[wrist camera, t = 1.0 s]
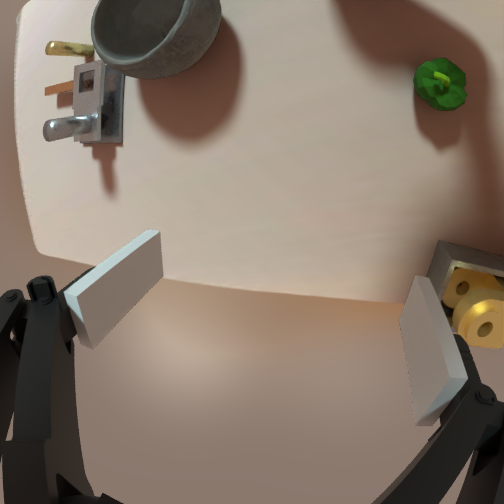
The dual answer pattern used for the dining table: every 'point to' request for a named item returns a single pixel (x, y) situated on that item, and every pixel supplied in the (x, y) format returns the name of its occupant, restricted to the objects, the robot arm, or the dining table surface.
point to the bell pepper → (441, 84)
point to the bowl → (154, 34)
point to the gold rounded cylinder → (69, 49)
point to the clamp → (477, 307)
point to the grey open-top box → (460, 257)
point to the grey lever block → (90, 106)
